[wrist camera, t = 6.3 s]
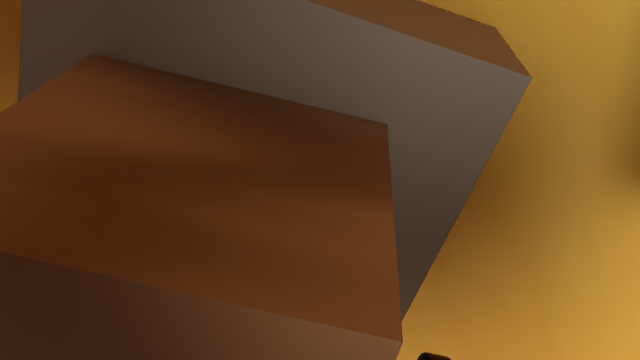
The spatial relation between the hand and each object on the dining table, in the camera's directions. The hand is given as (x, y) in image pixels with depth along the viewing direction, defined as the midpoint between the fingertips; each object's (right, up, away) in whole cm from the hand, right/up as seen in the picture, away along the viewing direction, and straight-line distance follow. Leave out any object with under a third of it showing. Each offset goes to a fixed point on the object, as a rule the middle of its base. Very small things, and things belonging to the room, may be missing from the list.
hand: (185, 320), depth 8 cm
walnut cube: (0, +1, +3) cm, 3 cm away
